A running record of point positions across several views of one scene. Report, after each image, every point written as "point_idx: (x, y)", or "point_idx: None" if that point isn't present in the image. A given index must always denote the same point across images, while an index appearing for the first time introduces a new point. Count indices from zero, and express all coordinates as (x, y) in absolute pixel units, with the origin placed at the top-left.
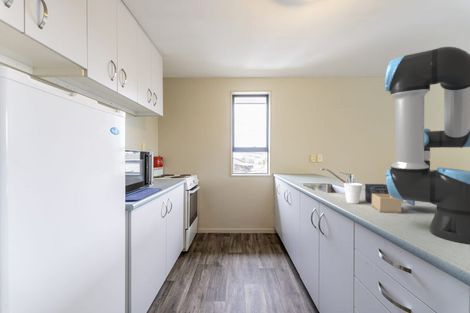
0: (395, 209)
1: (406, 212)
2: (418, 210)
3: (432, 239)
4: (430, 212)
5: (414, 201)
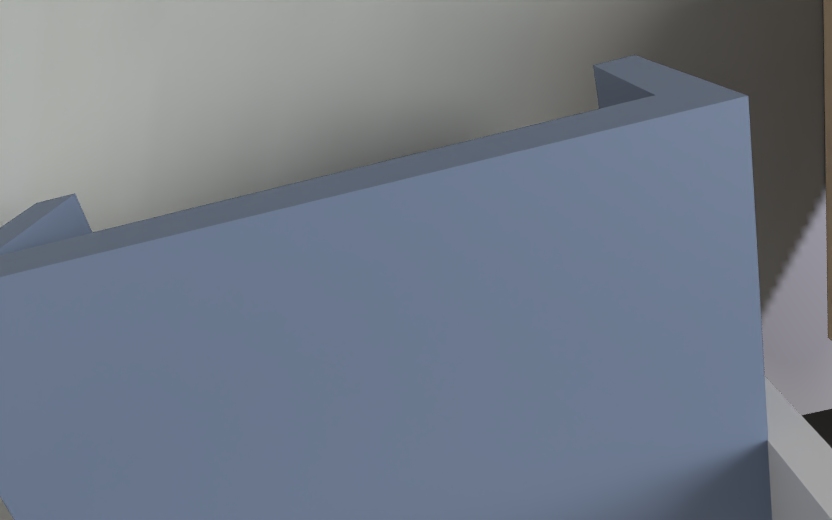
0: None
1: (683, 40)
2: None
3: None
4: None
5: (632, 77)
